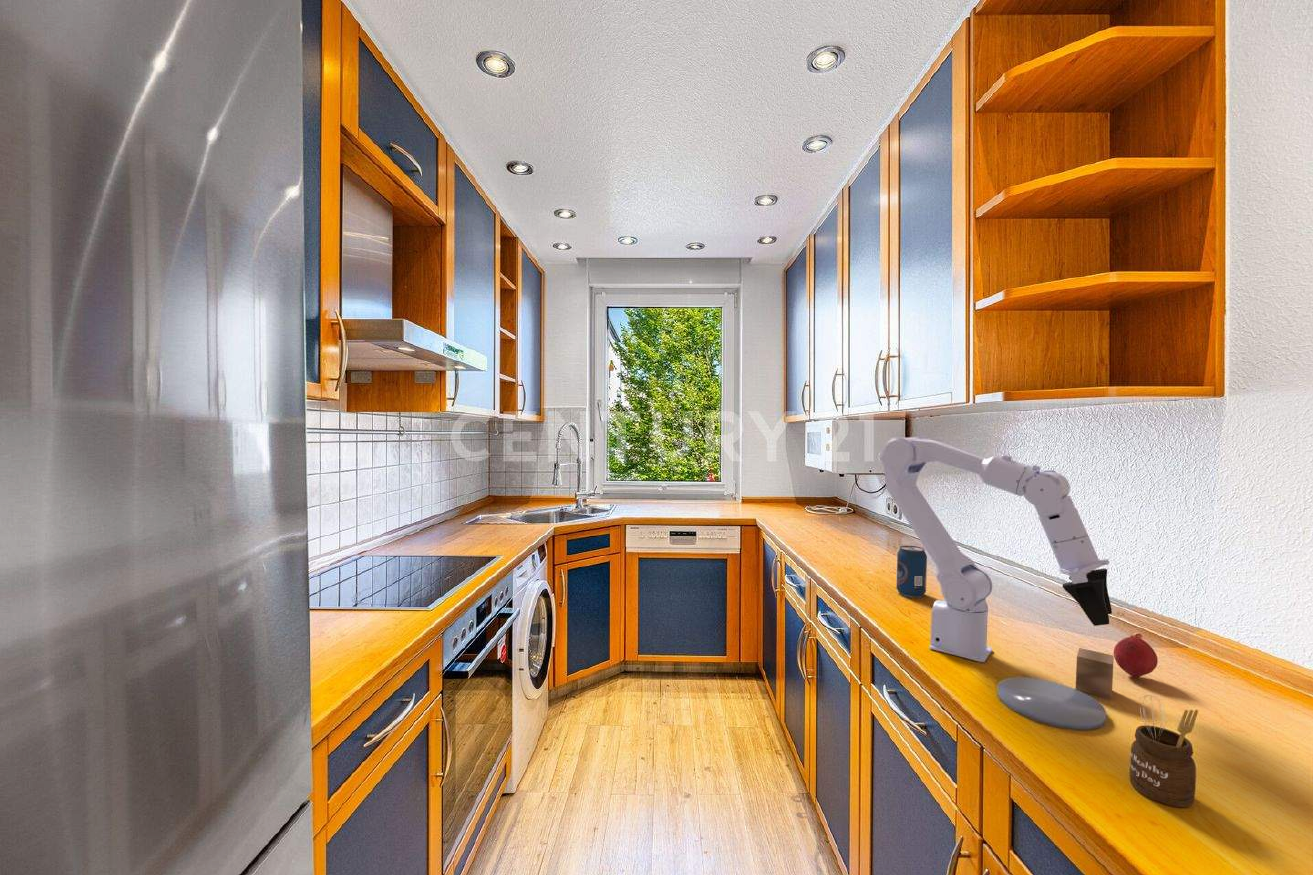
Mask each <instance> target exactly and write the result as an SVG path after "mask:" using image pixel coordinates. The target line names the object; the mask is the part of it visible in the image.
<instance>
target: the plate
mask: <svg viewBox="0 0 1313 875" xmlns="http://www.w3.org/2000/svg"><path fill="white" fill-rule="evenodd" d="M996 693H997V697H998V700H1000V702H1001V703H1002V704H1003V705H1004V706H1006V707H1007V708H1008V709H1010V710H1011V711H1013V712H1015V713H1017V714H1019V715H1021V716H1022V717H1025V718H1027V719H1029V720H1032V721H1036V722H1037V723H1040V724H1044V725H1048V726H1050V727H1055V728H1059V729H1060V728H1061V729H1065V730H1075V731H1092V730H1093V731H1094V730H1097V729H1100V728H1102V727H1104V725H1105V724H1106V721H1107V711H1106V709H1105V707H1104V705H1102V704H1101V703H1100V702H1099V701H1098V700H1097V699H1095V698H1094V697H1093V696H1091V695H1087V694H1085V693H1083V692H1081V691H1078V690H1076V688H1073V687H1072V686H1071V687H1070V686H1068V685H1065V684H1062V683H1058V682H1054V681H1051V680H1046V679H1042V678H1034V677H1024V676H1023V677H1021V676H1019V677H1018V676H1015V677H1009V678H1004V679H1002V680H999V682H998V683H997V692H996Z"/></svg>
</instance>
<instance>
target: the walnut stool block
mask: <svg viewBox="0 0 1313 875" xmlns="http://www.w3.org/2000/svg"><path fill="white" fill-rule="evenodd" d="M1114 661H1115V658H1114V654H1109V653H1104V652H1099V651H1097V650H1096V651H1095V650H1091V649H1087V648H1082V647H1079V648H1078V651H1077V655H1076V672H1075V689H1076V690H1078V691H1081V692H1083V693H1085V694H1087V695H1089V696H1090V697H1096V698H1100V699H1103V700H1107V701H1112V695H1113V682H1114V681H1113V680H1114Z"/></svg>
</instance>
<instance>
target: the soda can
mask: <svg viewBox="0 0 1313 875" xmlns="http://www.w3.org/2000/svg"><path fill="white" fill-rule="evenodd" d="M925 551H926V549H925V547H924V548H923V547H921V546H918V545H917V546H916V545H900V546H899V550H898V551H897V555H896V559H897V560H896V565H897V566H896V590H897V591H898V593H899V594H900V595H901V596H904V597H907V598H913V599H915V598H916V599H917V598H922V597H924V595H925V594H926V592H927V570H928V568H927V567H928V565H927V564H928V556H927V553H926V552H925Z"/></svg>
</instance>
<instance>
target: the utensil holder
mask: <svg viewBox="0 0 1313 875" xmlns="http://www.w3.org/2000/svg"><path fill="white" fill-rule="evenodd" d="M1148 697H1150V698H1149V699H1150V702H1152V701H1153V699H1152V698H1155V699H1157V700H1156V702H1157V703H1158V706H1159V708H1162V707H1163V708H1165V706H1164V704H1163V702H1161V701H1160V699H1158V697H1156V696H1155V695H1152V694H1147V695H1143V696H1142V698H1143V700H1142V698H1140V700H1139V701H1141V700H1142V705H1145V699H1146V698H1148ZM1161 704H1162V705H1161ZM1153 706H1154V705H1153V704H1151V706H1150V708H1151V709H1150V710H1151V712H1152V714H1151V716H1152V717H1151V718H1152V720H1154V718H1155V714H1154V712H1153V709H1154V707H1153ZM1139 711H1140V712H1139V713H1140V716H1141V720H1142V722H1143V723H1144V725H1139V726H1137V727H1136V729H1135V732H1134V738H1135V740H1134V741H1133V742H1132V744H1131V746H1130V753H1129V754H1130V757H1129V781H1130V783H1131V785H1132V787H1133V788H1134V789H1135V790H1137V792H1139V793H1140V794H1142V795H1143V796H1145V797H1146V798H1148V799H1151V800H1153V801H1155V802H1157V803H1160V804H1163V805H1167V806H1169V807H1174V808H1188V807H1190V806H1192V805H1193V803H1194V801H1195V797H1196V796H1195V795H1196V780H1197V767H1196V763H1195V761H1194V758H1193V757H1192V756H1194V755H1193V754H1194V749H1193V744H1192V743H1191V741H1190V740H1189V739H1187V738H1186V737H1185V736H1186V735H1187V734H1189V733H1192V731H1193V728H1194V725H1195V722H1196V720H1197V717H1198V713H1199V710H1198V709H1195V710H1193V709H1190V710H1188V709H1184V711H1183V714H1182V716H1181V719H1180V721H1179V724H1178V726H1177V732H1175V731H1172V730H1170V729H1166V728H1165V725H1166V723H1164V725H1163V727H1162V724H1163V713H1162V712H1163V711H1164V713H1166V710H1165V709H1163V710H1162V709H1159V713H1160V717H1161V718H1160V720H1161V724H1160V726H1156V725H1155V724H1156V723H1155V721H1153V722H1152V725H1149V722H1148V720H1147V716H1146V710H1145V708H1142V710H1141V708H1139ZM1141 711H1142V712H1143V715H1144V716H1143V715H1142V712H1141ZM1166 719H1167V718H1166V715H1164V722H1167V721H1166Z"/></svg>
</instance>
